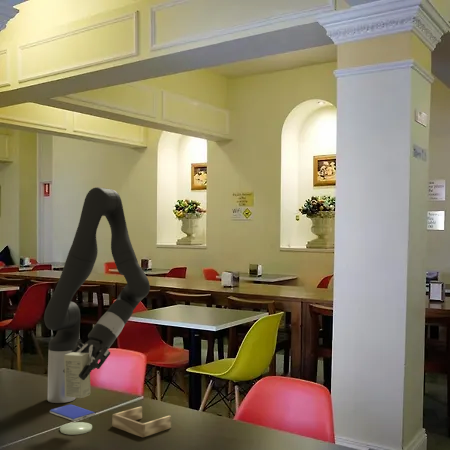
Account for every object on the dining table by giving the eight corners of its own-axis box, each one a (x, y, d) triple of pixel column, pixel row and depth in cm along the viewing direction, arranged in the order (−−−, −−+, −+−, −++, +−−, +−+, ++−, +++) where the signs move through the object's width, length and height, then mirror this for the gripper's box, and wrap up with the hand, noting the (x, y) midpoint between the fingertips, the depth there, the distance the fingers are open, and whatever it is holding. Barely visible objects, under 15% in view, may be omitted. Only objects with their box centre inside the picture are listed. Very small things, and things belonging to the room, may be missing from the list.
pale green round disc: (62, 424, 166) (62, 422, 166) (93, 423, 167) (93, 421, 167) (58, 435, 157) (58, 433, 157) (90, 434, 158) (91, 431, 158)
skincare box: (91, 395, 163) (91, 352, 163) (82, 399, 159) (83, 355, 159) (72, 392, 165) (72, 351, 165) (63, 396, 161) (63, 354, 161)
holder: (140, 417, 173) (140, 406, 173) (170, 427, 164) (171, 415, 164) (112, 426, 165) (112, 414, 165) (142, 437, 156) (142, 424, 156)
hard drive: (49, 409, 177) (73, 418, 169) (71, 403, 183) (95, 411, 175) (49, 414, 177) (73, 423, 169) (71, 408, 183) (95, 416, 175)
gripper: (85, 320, 173) (51, 364, 164) (114, 325, 164) (80, 372, 154) (99, 335, 177) (66, 379, 168) (128, 341, 167) (95, 388, 158)
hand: (73, 375), depth 161 cm, fingers closed on skincare box, 7 cm apart
